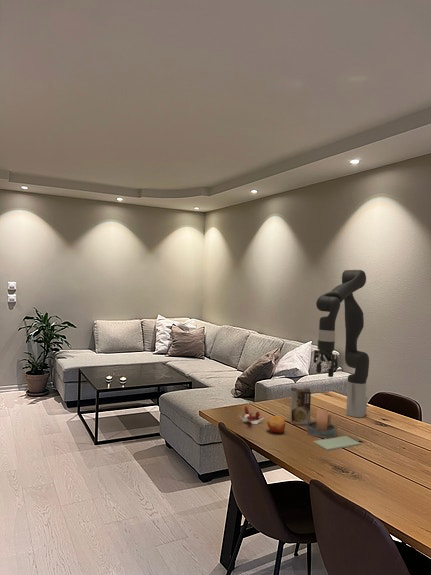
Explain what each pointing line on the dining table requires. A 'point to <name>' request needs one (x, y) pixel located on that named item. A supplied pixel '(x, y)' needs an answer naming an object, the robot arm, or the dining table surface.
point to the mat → (336, 443)
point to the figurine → (251, 417)
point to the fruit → (276, 424)
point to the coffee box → (300, 405)
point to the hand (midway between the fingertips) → (324, 374)
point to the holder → (321, 433)
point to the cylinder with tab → (322, 419)
